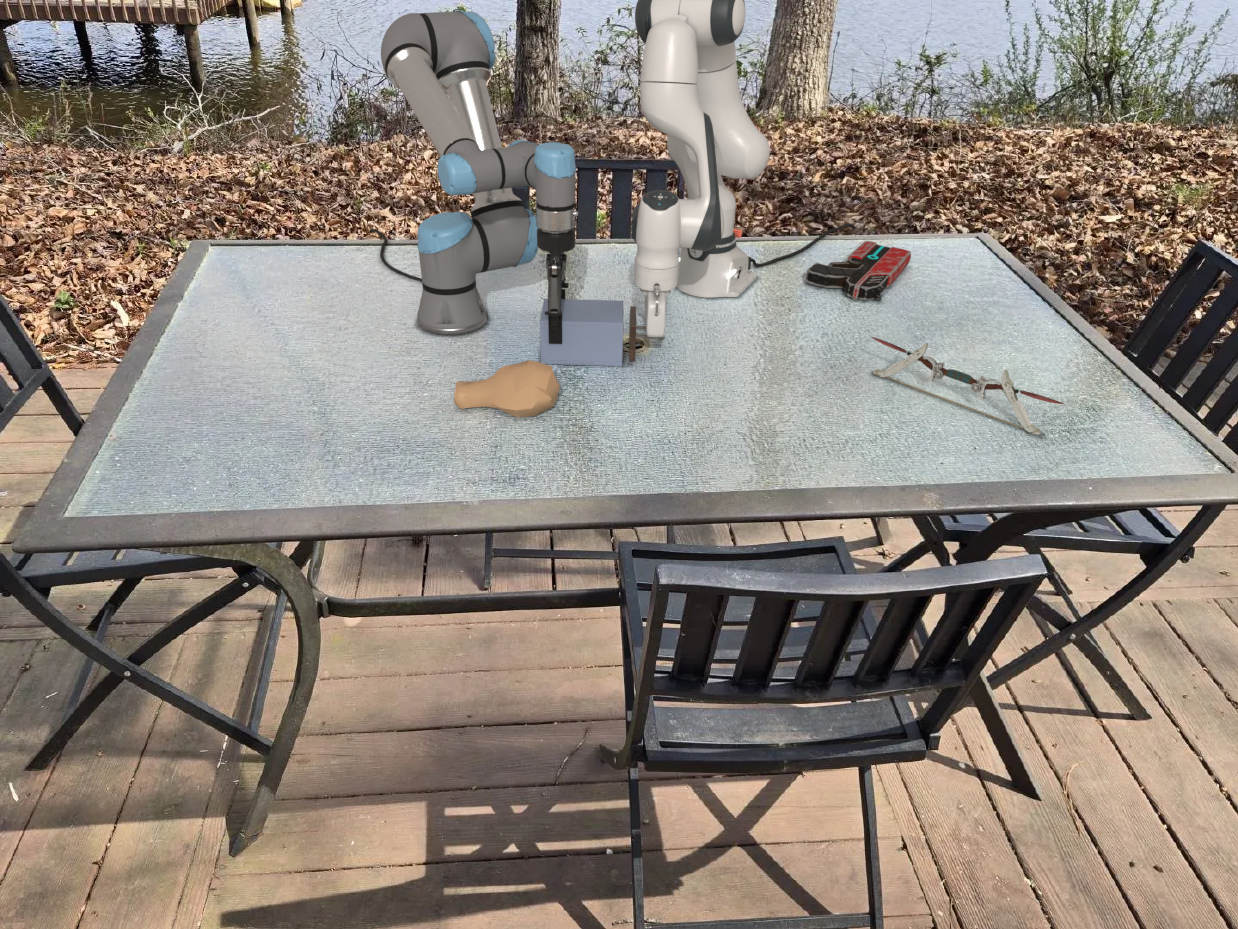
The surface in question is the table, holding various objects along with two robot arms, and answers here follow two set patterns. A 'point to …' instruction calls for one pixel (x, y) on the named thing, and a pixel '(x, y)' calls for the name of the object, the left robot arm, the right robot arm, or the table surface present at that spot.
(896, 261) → the gun
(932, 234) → the table surface
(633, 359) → the drawer
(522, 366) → the squash
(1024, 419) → the bow
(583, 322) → the cabinet
